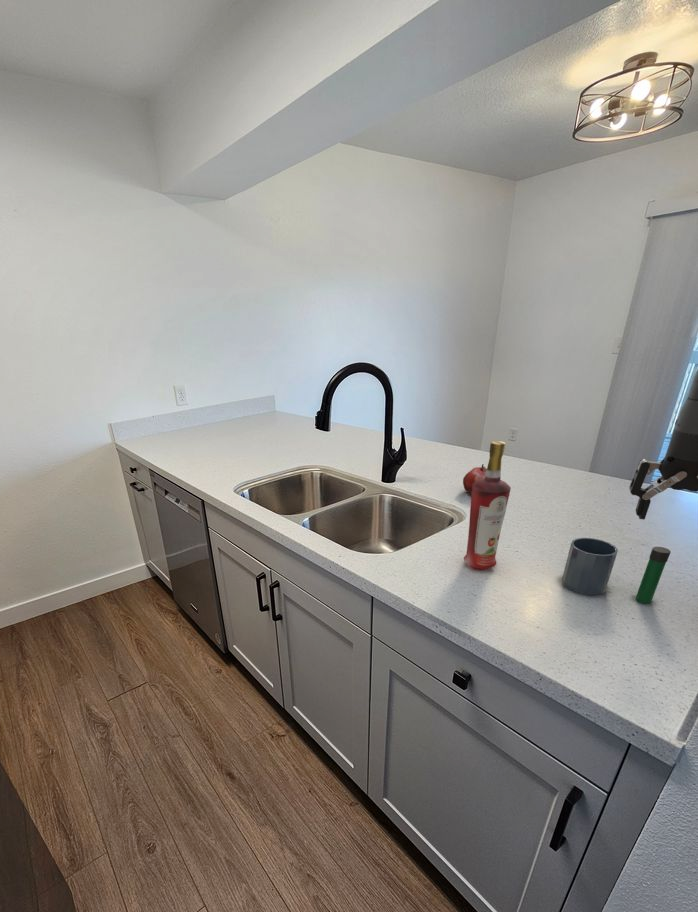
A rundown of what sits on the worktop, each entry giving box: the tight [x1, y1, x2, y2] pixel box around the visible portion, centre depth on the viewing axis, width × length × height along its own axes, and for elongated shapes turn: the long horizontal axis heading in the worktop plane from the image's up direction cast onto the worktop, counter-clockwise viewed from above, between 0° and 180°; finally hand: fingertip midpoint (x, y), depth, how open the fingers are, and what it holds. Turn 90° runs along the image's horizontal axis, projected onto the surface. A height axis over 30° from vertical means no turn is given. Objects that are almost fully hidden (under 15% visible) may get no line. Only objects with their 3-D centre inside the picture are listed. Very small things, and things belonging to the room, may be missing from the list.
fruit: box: [462, 463, 487, 494], centre depth 135 cm, size 9×10×10 cm
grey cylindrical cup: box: [561, 537, 619, 596], centre depth 87 cm, size 8×8×9 cm
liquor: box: [463, 440, 512, 571], centre depth 92 cm, size 7×7×28 cm
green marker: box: [635, 546, 671, 605], centre depth 81 cm, size 3×3×11 cm
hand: (671, 521), depth 76 cm, fingers open, 8 cm apart
